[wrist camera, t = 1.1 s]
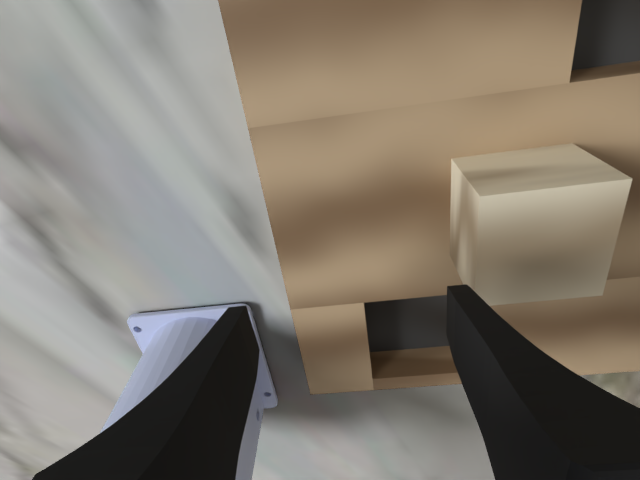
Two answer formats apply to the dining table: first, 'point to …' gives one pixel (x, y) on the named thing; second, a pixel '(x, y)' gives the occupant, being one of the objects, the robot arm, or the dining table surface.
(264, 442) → the dining table surface
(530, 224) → the block
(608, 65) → the track
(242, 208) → the dining table surface
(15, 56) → the dining table surface
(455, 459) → the dining table surface
